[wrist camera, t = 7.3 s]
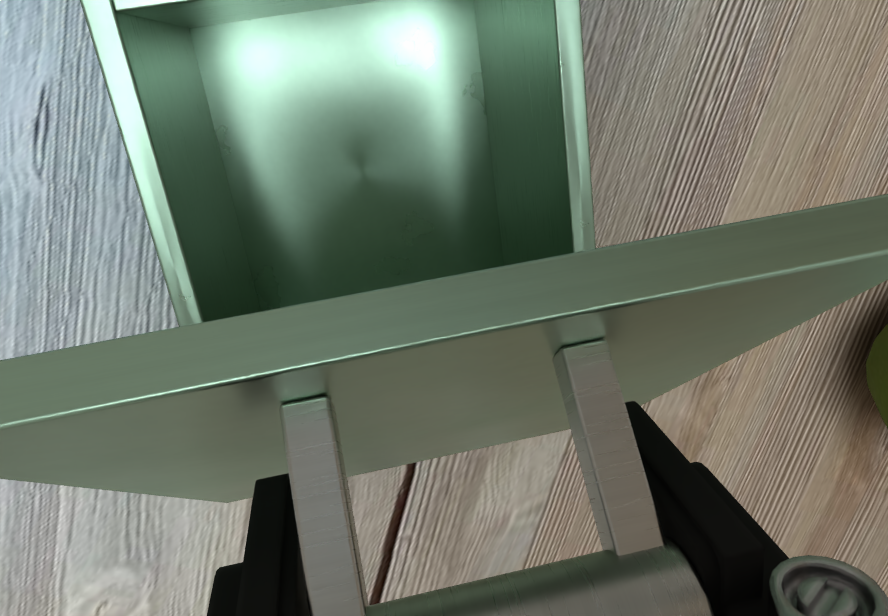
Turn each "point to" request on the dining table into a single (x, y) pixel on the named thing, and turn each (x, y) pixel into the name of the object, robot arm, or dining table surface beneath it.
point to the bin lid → (444, 396)
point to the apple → (879, 373)
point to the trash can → (346, 141)
